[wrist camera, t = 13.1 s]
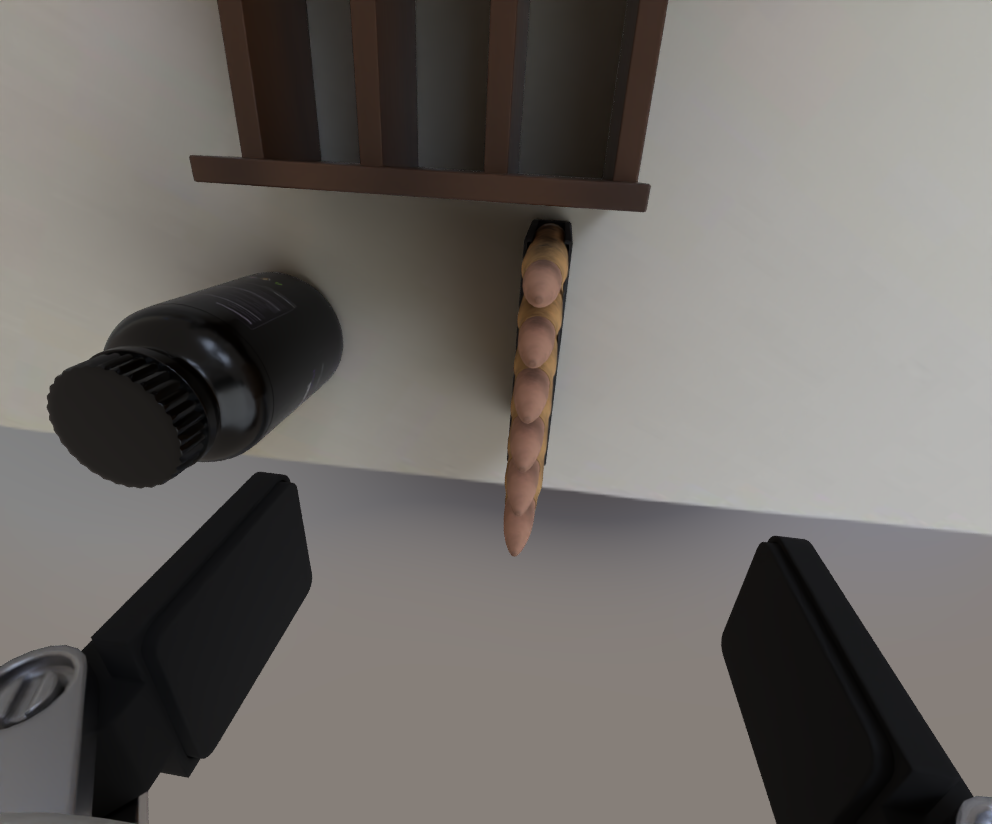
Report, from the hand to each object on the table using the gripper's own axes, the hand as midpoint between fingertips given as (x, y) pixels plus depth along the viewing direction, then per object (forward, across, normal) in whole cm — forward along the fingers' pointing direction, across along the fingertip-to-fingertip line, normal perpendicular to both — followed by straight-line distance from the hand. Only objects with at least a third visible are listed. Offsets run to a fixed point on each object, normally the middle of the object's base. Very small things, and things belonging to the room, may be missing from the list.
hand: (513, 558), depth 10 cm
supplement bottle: (+17, +14, +2) cm, 22 cm away
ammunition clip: (+17, 0, +1) cm, 17 cm away
